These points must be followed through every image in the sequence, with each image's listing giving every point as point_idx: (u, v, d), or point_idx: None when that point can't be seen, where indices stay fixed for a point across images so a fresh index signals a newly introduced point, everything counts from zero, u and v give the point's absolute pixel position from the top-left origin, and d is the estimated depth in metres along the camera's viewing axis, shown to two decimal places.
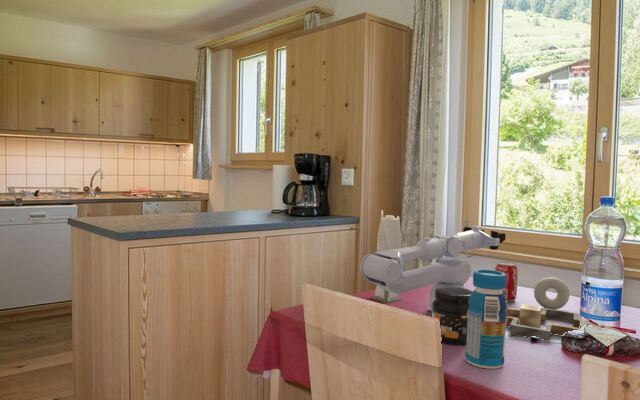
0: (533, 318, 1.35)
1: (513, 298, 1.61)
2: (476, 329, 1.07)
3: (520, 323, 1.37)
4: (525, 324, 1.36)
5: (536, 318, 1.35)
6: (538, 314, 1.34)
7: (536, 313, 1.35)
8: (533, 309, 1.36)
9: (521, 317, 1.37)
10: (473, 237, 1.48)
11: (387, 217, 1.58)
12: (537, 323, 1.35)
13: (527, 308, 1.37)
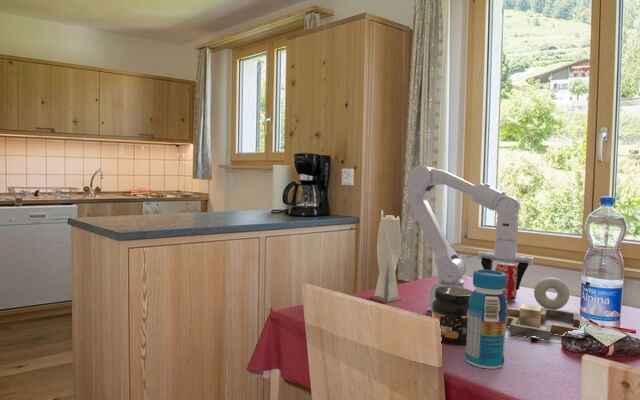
0: (533, 318, 1.35)
1: (513, 298, 1.61)
2: (476, 329, 1.07)
3: (520, 323, 1.37)
4: (525, 324, 1.36)
5: (536, 318, 1.35)
6: (538, 314, 1.35)
7: (536, 313, 1.35)
8: (533, 309, 1.36)
9: (521, 317, 1.37)
10: (496, 240, 1.40)
11: (387, 217, 1.58)
12: (537, 323, 1.35)
13: (527, 308, 1.37)
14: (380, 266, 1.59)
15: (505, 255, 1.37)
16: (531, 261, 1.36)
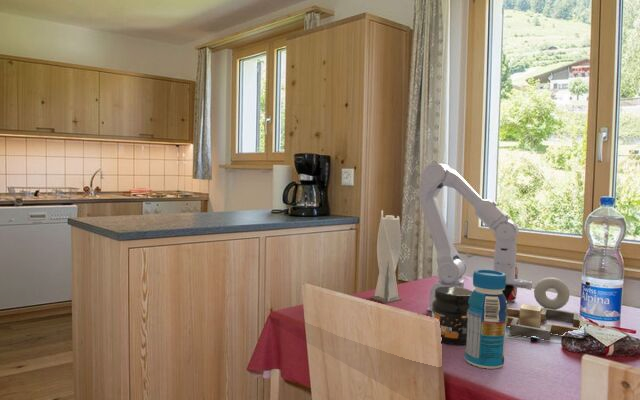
0: (533, 318, 1.35)
1: (513, 298, 1.61)
2: (476, 329, 1.07)
3: (520, 323, 1.37)
4: (525, 324, 1.36)
5: (536, 318, 1.35)
6: (538, 314, 1.34)
7: (536, 313, 1.35)
8: (533, 309, 1.36)
9: (521, 317, 1.37)
10: (494, 264, 1.40)
11: (387, 217, 1.58)
12: (537, 323, 1.35)
13: (527, 308, 1.37)
14: (380, 266, 1.59)
15: None
16: (529, 286, 1.37)
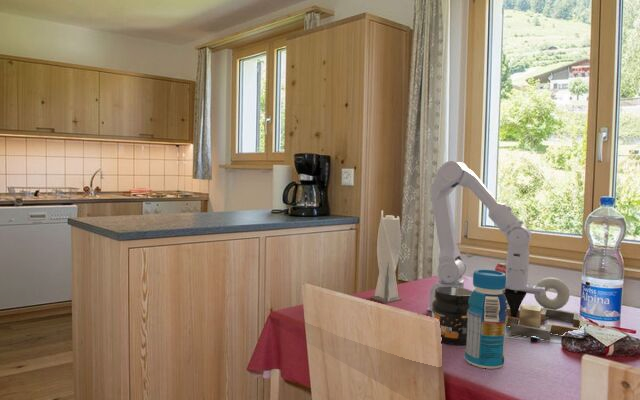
0: (533, 318, 1.35)
1: None
2: (476, 329, 1.07)
3: (520, 323, 1.37)
4: (525, 324, 1.36)
5: (536, 318, 1.35)
6: (538, 314, 1.34)
7: (536, 313, 1.35)
8: (533, 309, 1.36)
9: (521, 317, 1.37)
10: (506, 270, 1.39)
11: (387, 217, 1.58)
12: (537, 323, 1.35)
13: (527, 308, 1.37)
14: (380, 266, 1.59)
15: (516, 285, 1.36)
16: (542, 292, 1.35)
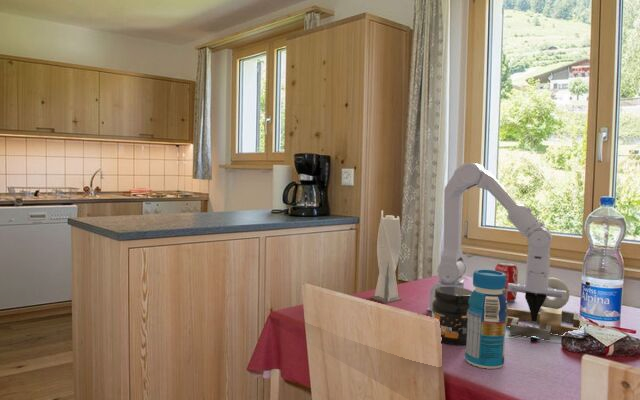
0: (553, 322, 1.33)
1: (513, 298, 1.61)
2: (476, 329, 1.07)
3: (540, 326, 1.34)
4: (545, 327, 1.34)
5: (557, 321, 1.32)
6: (559, 317, 1.32)
7: (557, 316, 1.32)
8: (554, 312, 1.33)
9: (541, 320, 1.34)
10: (527, 273, 1.36)
11: (387, 217, 1.58)
12: None
13: (547, 311, 1.34)
14: (380, 266, 1.59)
15: (537, 288, 1.34)
16: (564, 295, 1.33)
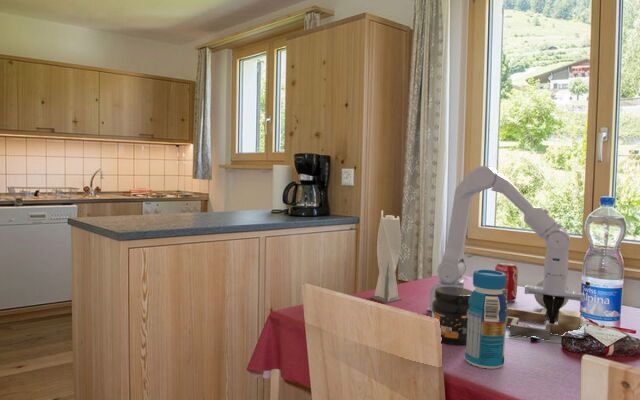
0: (572, 325, 1.31)
1: (513, 298, 1.61)
2: (476, 329, 1.07)
3: None
4: None
5: (576, 324, 1.30)
6: (578, 320, 1.30)
7: (576, 319, 1.30)
8: (572, 315, 1.31)
9: (560, 323, 1.32)
10: (544, 275, 1.34)
11: (387, 217, 1.58)
12: None
13: (566, 314, 1.32)
14: (380, 266, 1.59)
15: (555, 291, 1.32)
16: (583, 298, 1.31)
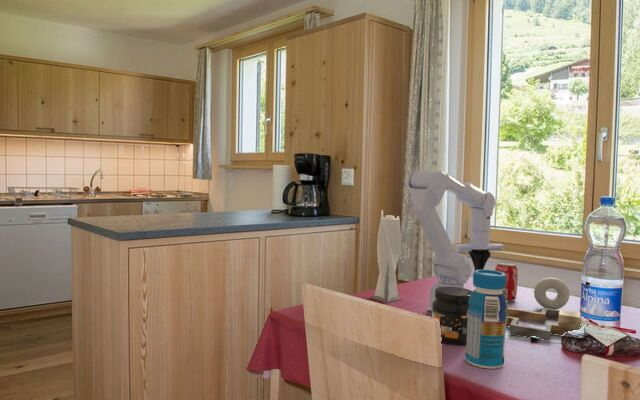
0: (572, 325, 1.31)
1: (513, 298, 1.61)
2: (476, 329, 1.07)
3: None
4: None
5: (576, 325, 1.30)
6: (578, 320, 1.30)
7: (576, 319, 1.30)
8: (572, 315, 1.31)
9: (560, 323, 1.32)
10: (474, 232, 1.52)
11: (387, 217, 1.58)
12: None
13: (566, 314, 1.32)
14: (380, 266, 1.59)
15: (485, 245, 1.52)
16: (502, 247, 1.54)
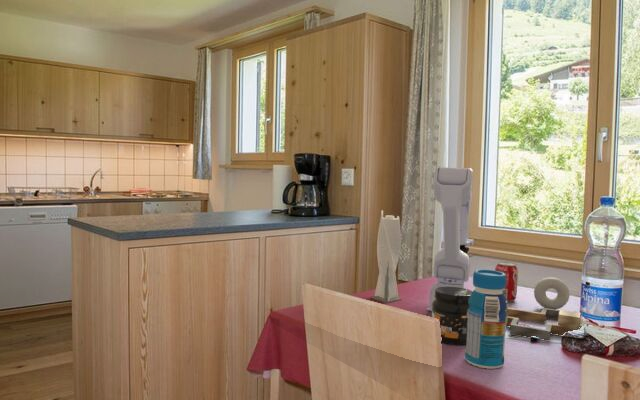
0: (572, 325, 1.31)
1: (513, 298, 1.61)
2: (476, 329, 1.07)
3: None
4: None
5: (576, 325, 1.30)
6: (578, 320, 1.30)
7: (576, 319, 1.30)
8: (572, 315, 1.31)
9: (560, 323, 1.32)
10: None
11: (387, 217, 1.58)
12: None
13: (566, 314, 1.32)
14: (380, 266, 1.59)
15: (466, 241, 1.58)
16: (473, 242, 1.64)
